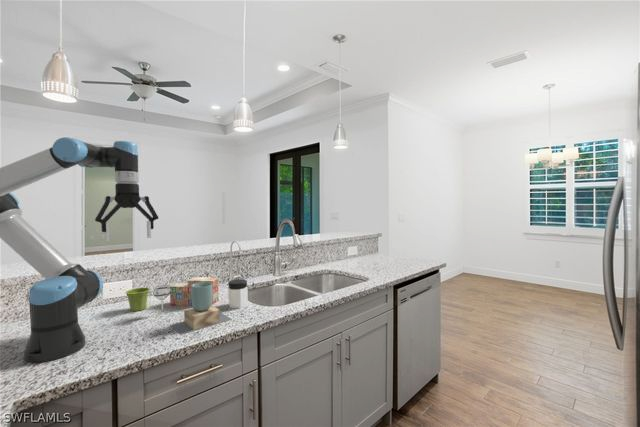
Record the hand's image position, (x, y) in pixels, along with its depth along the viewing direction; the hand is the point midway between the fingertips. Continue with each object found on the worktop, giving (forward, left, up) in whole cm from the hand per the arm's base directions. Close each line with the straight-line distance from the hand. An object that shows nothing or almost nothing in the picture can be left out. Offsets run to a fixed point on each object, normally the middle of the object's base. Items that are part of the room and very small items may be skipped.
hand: (129, 239), depth 114 cm
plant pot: (+7, +23, -35) cm, 42 cm away
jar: (+41, -7, -35) cm, 54 cm away
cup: (+21, -15, -29) cm, 39 cm away
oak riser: (+21, -15, -34) cm, 42 cm away
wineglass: (+13, +8, -35) cm, 38 cm away
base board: (+21, -15, -35) cm, 43 cm away
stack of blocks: (+28, +12, -35) cm, 47 cm away
